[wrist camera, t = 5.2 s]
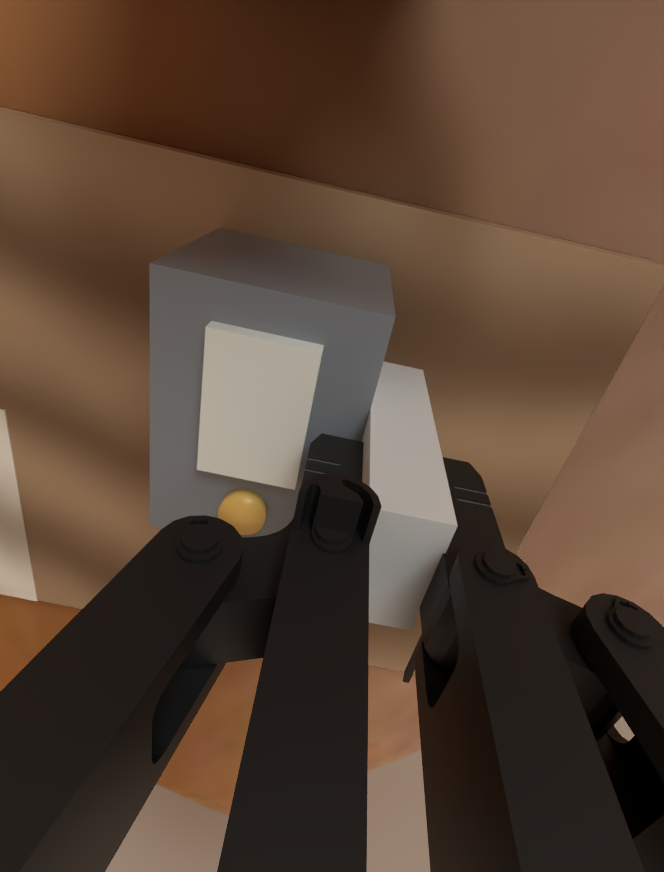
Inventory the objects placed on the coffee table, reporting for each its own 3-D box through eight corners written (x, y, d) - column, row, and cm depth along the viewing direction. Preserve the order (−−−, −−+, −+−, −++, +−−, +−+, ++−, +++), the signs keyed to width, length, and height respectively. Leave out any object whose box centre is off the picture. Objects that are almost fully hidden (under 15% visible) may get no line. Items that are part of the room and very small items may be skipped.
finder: (219, 227, 14) (141, 267, 9) (389, 265, 14) (396, 323, 9) (205, 432, 17) (143, 535, 13) (340, 460, 18) (327, 572, 13)
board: (-361, -113, 12) (-434, -140, 11) (709, 150, 13) (739, 151, 12) (-111, 548, 24) (-134, 567, 23) (441, 658, 25) (444, 681, 24)
